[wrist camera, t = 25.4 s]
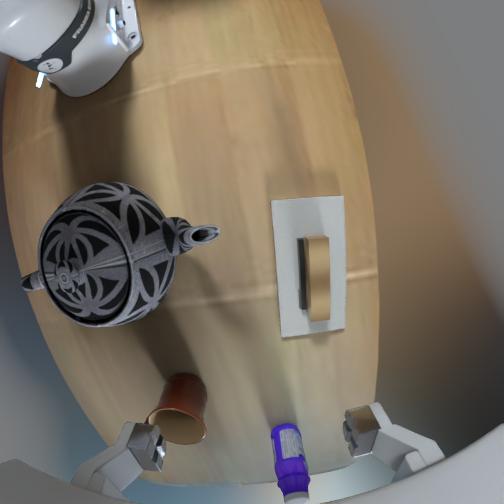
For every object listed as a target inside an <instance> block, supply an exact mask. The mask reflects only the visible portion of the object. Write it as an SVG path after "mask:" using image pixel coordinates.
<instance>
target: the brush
mask: <svg viewBox="0 0 504 504" xmlns="http://www.w3.org/2000/svg"><path fill="white" fill-rule="evenodd" d="M297 252H298V270H299V291H300V308H301V310H307V314H308V316H309V318H310V320H311V322H317V321H324V320H330V249H329V237H327V236H326V235H324V234H312V235H303V238H297Z"/></svg>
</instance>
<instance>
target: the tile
mask: <svg viewBox="0 0 504 504" xmlns="http://www.w3.org/2000/svg"><path fill="white" fill-rule="evenodd" d="M270 203H271V214H272V225H273V237H274V249H275V261H276V274H277V287H278V301H279V316H280V331H281V337H289V336H297V335H304V334H311V333H318V332H325V331H331V330H337V329H343V328H345V310H346V238H345V214H344V198H343V195H338V196H322V197H307V198H293V199H281V200H271V201H270ZM312 234H324V235H326V236H327V237H329V249H330V320H324V321H317V322H311V320H310V318H309V316H308V314H307V310H301V308H300V291H299V270H298V252H297V238H303V235H312Z"/></svg>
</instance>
